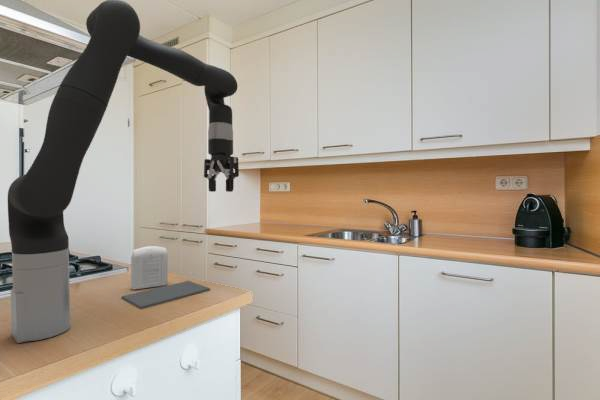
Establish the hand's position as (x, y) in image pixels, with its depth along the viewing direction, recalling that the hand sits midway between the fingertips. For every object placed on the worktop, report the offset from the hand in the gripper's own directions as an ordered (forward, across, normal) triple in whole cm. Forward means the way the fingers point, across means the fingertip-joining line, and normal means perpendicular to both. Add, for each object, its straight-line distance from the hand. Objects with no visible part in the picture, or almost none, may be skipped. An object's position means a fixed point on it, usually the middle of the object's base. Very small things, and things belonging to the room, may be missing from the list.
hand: (220, 191), depth 101 cm
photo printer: (+30, -15, -15) cm, 36 cm away
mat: (+29, -4, -15) cm, 33 cm away
